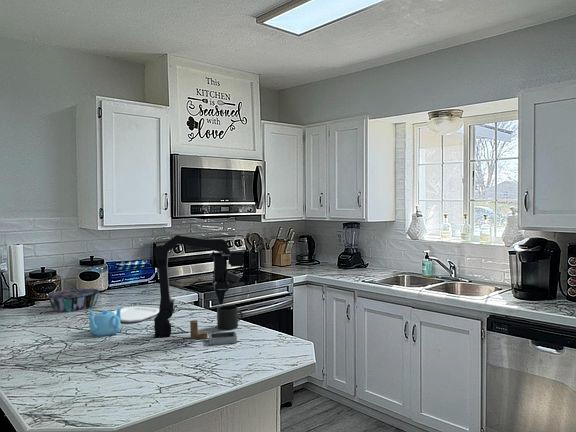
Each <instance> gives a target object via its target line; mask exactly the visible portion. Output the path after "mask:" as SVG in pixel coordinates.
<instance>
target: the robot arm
mask: <svg viewBox="0 0 576 432" xmlns="http://www.w3.org/2000/svg"><path fill="white" fill-rule="evenodd" d="M178 245H186V246H193V247H198V248H199V247H200V248H206V249H209V250H211V251H212V252H211V253H210V254H209V257H210V258H213V277H212V278H211V280H212V281H211V283H212V286H213V288H214V292H215V294H216V296H217V300H218V302H219V305H223V303H224V300H225V296H226V292H228V291H229V290H230V283H229V282H232V283H235V284H238V283H239V281H240V278H241V276H240V275H239V274H237V271H236V270H232V271H229V269H228V265H230V268H232V267H236V268H237V267H244V265H245V258H244V251H243V250H239V251H231V249H229V247H228V243H227V241H226V240H225V239H224V238H221V237H218V238H217V237H215V238H203V237H197V236H188V235H181V234H175V235H174V236H173V237H172V238H171V239H169V240H168V241H166V242H165V243H160V244H158V245H157V246H156V247H155V248H154V249H153V253H154V254H153V255H154V258H155V262H156V264H157V266H158V280H159V281H158V282H159V290H160V301H159V313H158V314H157V315H156V316H154V319H153V321H154V337H153V338H155V339H156V338H168V337H171V335H172V323H170V318H172V316H173V315H174V312H175V310H176V305H175V301H176V300H175V299H174V298H173V299H172V298H171V291H170V280H169V279H170V278H169V266H168V262H169V256H170V255H169V254H170V252H171V250H173V249H174V248H175V247H177V246H178Z"/></svg>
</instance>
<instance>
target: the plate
mask: <svg viewBox="0 0 576 432" xmlns="http://www.w3.org/2000/svg"><path fill="white" fill-rule="evenodd" d="M159 308H160V307H159ZM159 308H158V307H146V306H137V305H135V306H124V307H122V308H121V311H120V314H121V320H120V323H128V324H131V323H132V324H133V323H138V322H139V323H140V322H142V321H144V320H147V319H148V320H149V319H150V318H153V317H156V315H157V314H158V313H159ZM111 312H114V313H115V314H116V313H117V309H116V310H112V311H111Z"/></svg>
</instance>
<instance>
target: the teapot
mask: <svg viewBox="0 0 576 432" xmlns="http://www.w3.org/2000/svg"><path fill="white" fill-rule="evenodd" d="M121 308H123V305H120V306H119V307H118V308H117V309H116V310H117V313H116V314H115V313H114V312H112V311H109V309H103V310H101V312H99V313H97V314H96V315H95V313H94V311H93V310H91V309H87V311H88V313H89V315H87V316H86V317H88V318H89V332H90V333H91V334H92V335H93V336H95V337H96V336H98V337H105V336H112V335H115V334H117V333H119V332H120V331H121V329H122V322H120V320H121V314H120V311H121Z"/></svg>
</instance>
